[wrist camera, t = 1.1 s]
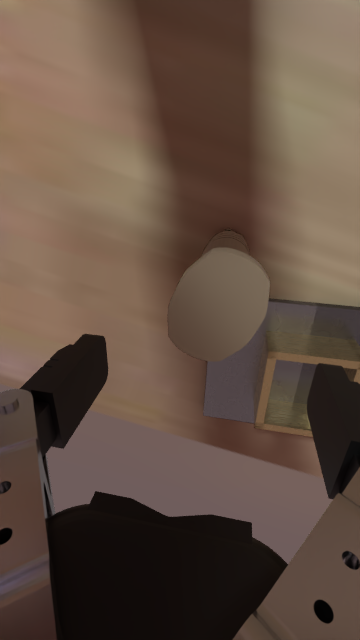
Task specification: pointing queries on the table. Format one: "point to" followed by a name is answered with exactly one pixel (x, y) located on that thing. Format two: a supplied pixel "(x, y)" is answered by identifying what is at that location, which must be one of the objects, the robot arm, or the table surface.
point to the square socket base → (283, 365)
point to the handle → (219, 300)
